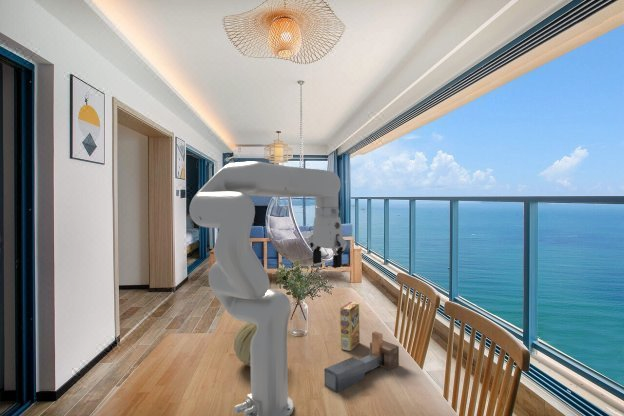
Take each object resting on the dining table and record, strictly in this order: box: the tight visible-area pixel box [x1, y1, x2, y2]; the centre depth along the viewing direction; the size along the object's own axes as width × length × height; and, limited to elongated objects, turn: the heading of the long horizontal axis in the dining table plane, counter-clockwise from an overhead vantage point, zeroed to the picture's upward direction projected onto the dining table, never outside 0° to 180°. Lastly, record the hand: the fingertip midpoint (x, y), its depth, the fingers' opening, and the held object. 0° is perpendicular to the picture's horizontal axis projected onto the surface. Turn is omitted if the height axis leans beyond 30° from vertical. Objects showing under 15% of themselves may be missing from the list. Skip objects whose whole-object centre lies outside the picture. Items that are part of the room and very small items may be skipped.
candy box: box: [339, 301, 361, 352], centre depth 134 cm, size 9×4×15 cm, turn 150°
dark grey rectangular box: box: [323, 356, 366, 393], centre depth 108 cm, size 12×5×5 cm, turn 130°
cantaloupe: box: [233, 322, 257, 368], centre depth 120 cm, size 15×15×15 cm
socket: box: [369, 340, 400, 371], centre depth 120 cm, size 5×8×6 cm, turn 40°
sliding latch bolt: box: [358, 331, 384, 373], centre depth 115 cm, size 16×3×10 cm, turn 130°
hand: (327, 265), depth 118 cm, fingers open, 9 cm apart
